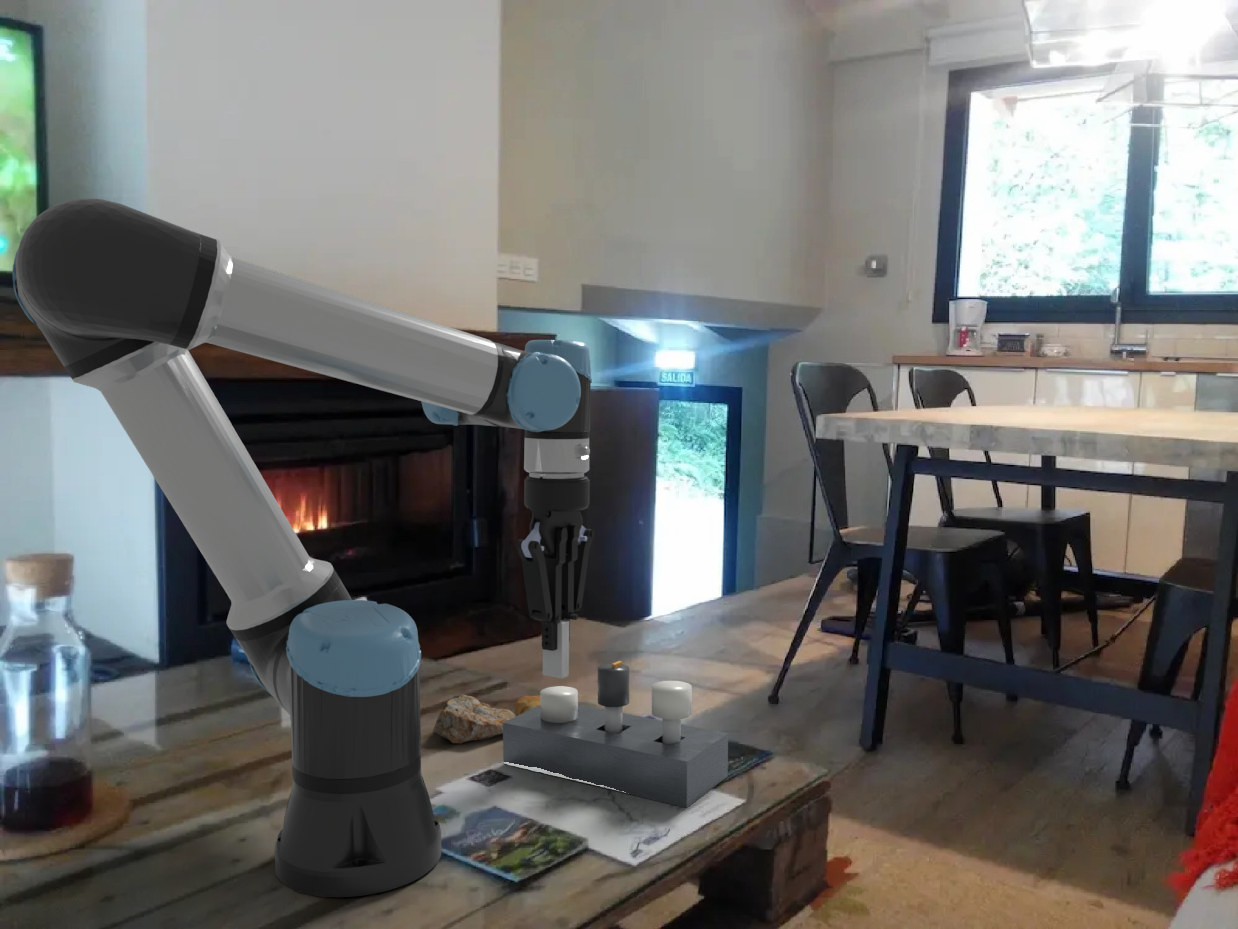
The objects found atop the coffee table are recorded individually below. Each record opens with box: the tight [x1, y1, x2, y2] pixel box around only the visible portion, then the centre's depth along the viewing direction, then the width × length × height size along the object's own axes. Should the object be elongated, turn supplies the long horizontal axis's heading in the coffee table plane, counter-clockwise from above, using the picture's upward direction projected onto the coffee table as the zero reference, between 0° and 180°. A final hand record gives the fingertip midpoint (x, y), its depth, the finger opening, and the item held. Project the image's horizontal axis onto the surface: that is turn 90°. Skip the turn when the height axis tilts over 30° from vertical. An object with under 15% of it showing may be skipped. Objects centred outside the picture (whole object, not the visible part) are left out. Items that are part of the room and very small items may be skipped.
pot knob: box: [597, 660, 630, 734], centre depth 120 cm, size 4×4×9 cm
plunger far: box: [539, 685, 579, 723], centre depth 124 cm, size 4×4×8 cm
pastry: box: [513, 694, 540, 716], centre depth 138 cm, size 9×7×4 cm
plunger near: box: [651, 680, 693, 745], centre depth 116 cm, size 4×4×8 cm
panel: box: [502, 704, 729, 809], centre depth 120 cm, size 24×10×5 cm, turn 59°
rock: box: [432, 693, 516, 745], centre depth 133 cm, size 9×6×10 cm
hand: (555, 675), depth 123 cm, fingers closed
